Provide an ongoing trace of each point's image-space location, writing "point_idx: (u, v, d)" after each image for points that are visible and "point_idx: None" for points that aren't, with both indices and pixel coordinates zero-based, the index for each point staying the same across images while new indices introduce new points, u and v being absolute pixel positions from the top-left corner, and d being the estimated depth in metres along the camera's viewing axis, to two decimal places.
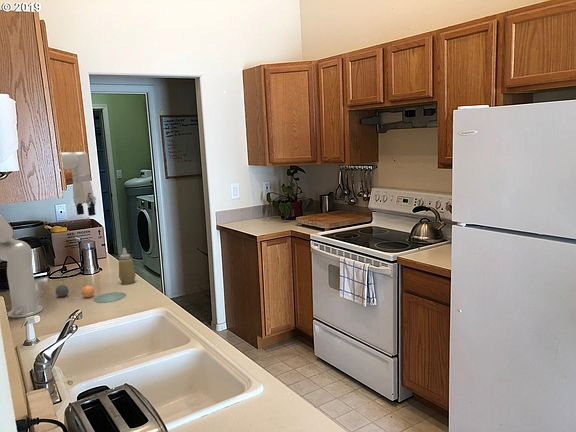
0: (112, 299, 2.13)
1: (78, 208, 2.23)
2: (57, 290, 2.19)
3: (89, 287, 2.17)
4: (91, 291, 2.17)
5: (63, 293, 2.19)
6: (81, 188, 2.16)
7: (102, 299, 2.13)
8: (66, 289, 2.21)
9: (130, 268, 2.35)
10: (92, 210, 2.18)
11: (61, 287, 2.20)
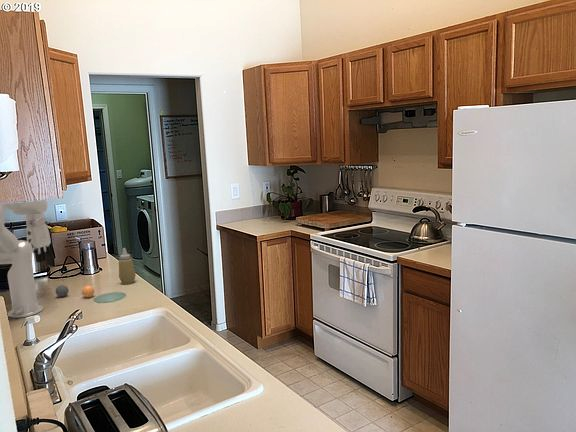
0: (112, 299, 2.13)
1: None
2: (57, 290, 2.19)
3: (89, 287, 2.17)
4: (91, 291, 2.17)
5: (63, 293, 2.19)
6: (47, 230, 2.21)
7: (102, 299, 2.13)
8: (66, 289, 2.21)
9: (130, 268, 2.35)
10: None
11: (61, 287, 2.20)
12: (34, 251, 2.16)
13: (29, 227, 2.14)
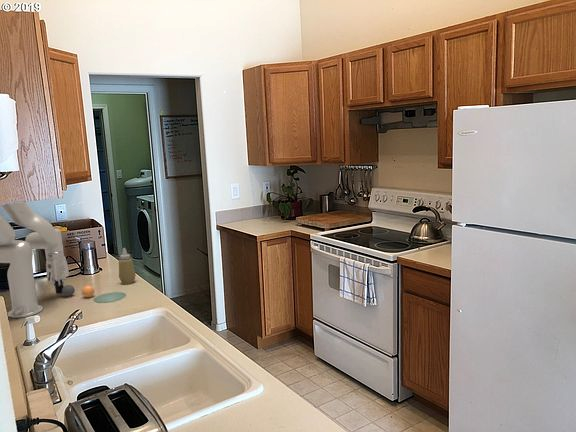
0: (112, 299, 2.13)
1: None
2: (65, 289, 2.19)
3: (89, 287, 2.17)
4: (91, 291, 2.17)
5: (68, 295, 2.19)
6: (65, 262, 2.23)
7: (102, 299, 2.13)
8: (72, 293, 2.21)
9: (130, 268, 2.35)
10: None
11: (70, 289, 2.19)
12: (55, 283, 2.18)
13: (49, 260, 2.15)
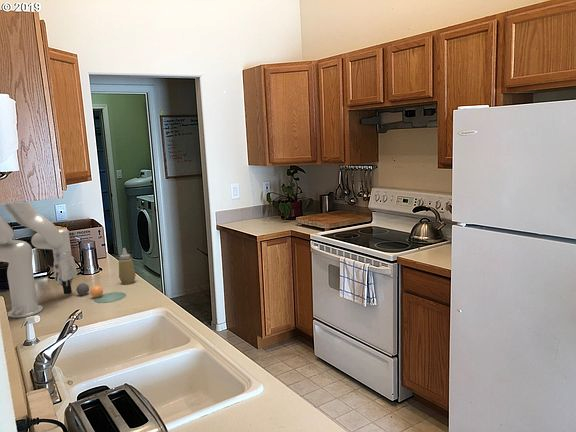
0: (112, 299, 2.13)
1: None
2: (82, 289, 2.20)
3: (100, 295, 2.16)
4: (96, 297, 2.17)
5: None
6: (73, 262, 2.21)
7: (102, 299, 2.13)
8: (77, 291, 2.21)
9: (130, 268, 2.35)
10: None
11: (79, 292, 2.20)
12: (62, 284, 2.17)
13: (56, 260, 2.14)
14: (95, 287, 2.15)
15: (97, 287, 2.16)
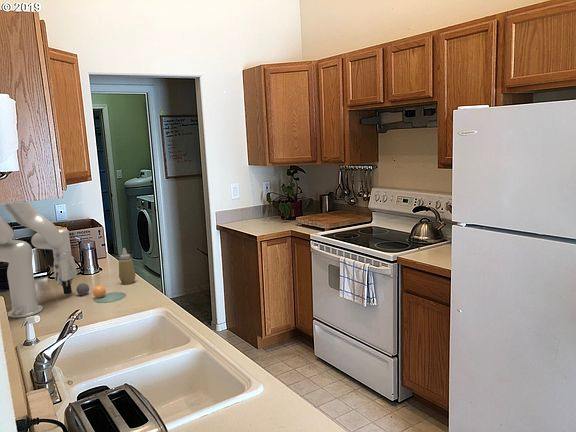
0: (112, 299, 2.13)
1: None
2: (82, 289, 2.20)
3: (100, 297, 2.16)
4: None
5: None
6: (73, 262, 2.21)
7: (102, 299, 2.13)
8: (77, 291, 2.21)
9: (130, 268, 2.35)
10: None
11: (79, 292, 2.20)
12: (62, 284, 2.17)
13: (56, 260, 2.14)
14: (100, 288, 2.15)
15: (102, 289, 2.15)
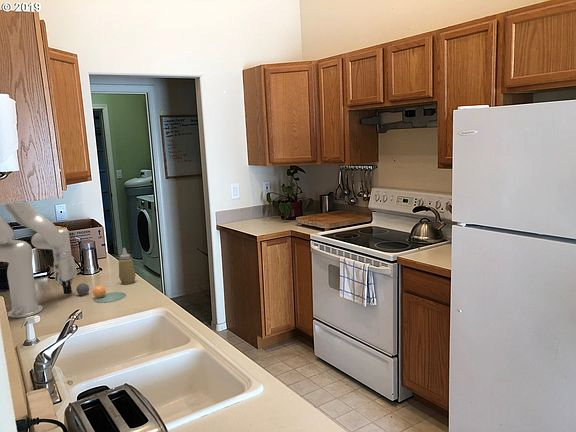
0: (112, 299, 2.13)
1: None
2: (82, 289, 2.20)
3: (100, 297, 2.16)
4: None
5: None
6: (73, 262, 2.21)
7: (102, 299, 2.13)
8: (77, 291, 2.21)
9: (130, 268, 2.35)
10: None
11: (79, 292, 2.20)
12: (62, 284, 2.17)
13: (56, 260, 2.14)
14: (100, 288, 2.15)
15: (102, 289, 2.15)
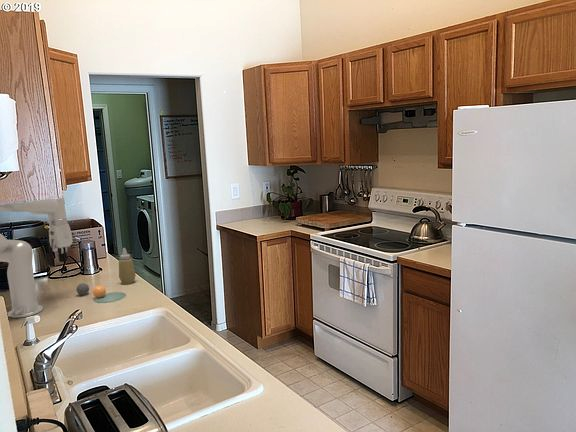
0: (112, 299, 2.13)
1: None
2: (82, 289, 2.20)
3: (100, 297, 2.16)
4: None
5: None
6: (69, 230, 2.19)
7: (102, 299, 2.13)
8: (77, 291, 2.21)
9: (130, 268, 2.35)
10: None
11: (79, 292, 2.20)
12: (58, 251, 2.14)
13: (52, 227, 2.12)
14: (100, 288, 2.15)
15: (102, 289, 2.15)
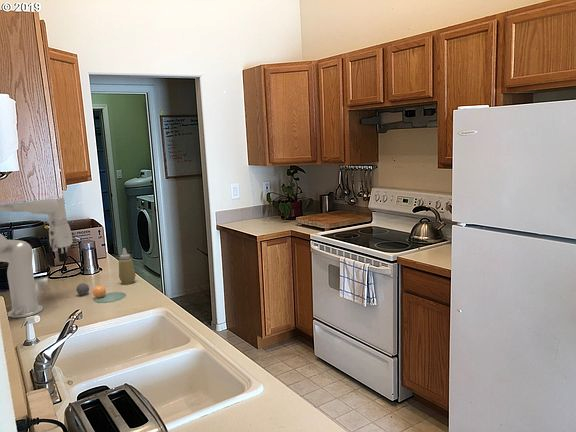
0: (112, 299, 2.13)
1: None
2: (82, 289, 2.20)
3: (100, 297, 2.16)
4: None
5: None
6: (69, 229, 2.19)
7: (102, 299, 2.13)
8: (77, 291, 2.21)
9: (130, 268, 2.35)
10: None
11: (79, 292, 2.20)
12: (58, 251, 2.14)
13: (52, 227, 2.12)
14: (100, 288, 2.15)
15: (102, 289, 2.15)
